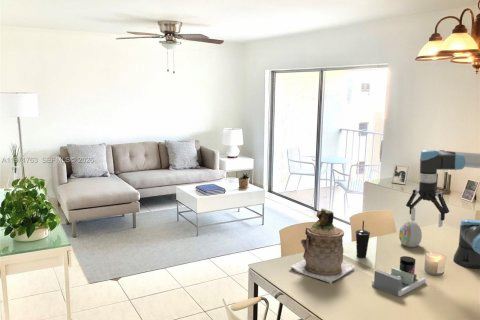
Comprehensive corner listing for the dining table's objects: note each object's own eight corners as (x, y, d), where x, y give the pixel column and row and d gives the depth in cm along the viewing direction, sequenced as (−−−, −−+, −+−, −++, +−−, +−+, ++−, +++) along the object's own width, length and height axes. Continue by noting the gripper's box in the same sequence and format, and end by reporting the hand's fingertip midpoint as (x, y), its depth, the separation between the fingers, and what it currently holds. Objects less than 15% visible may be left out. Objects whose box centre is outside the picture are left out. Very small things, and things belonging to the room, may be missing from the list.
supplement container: (401, 282, 190) (402, 261, 188) (396, 276, 197) (398, 255, 195) (416, 283, 189) (417, 262, 188) (411, 277, 196) (412, 256, 194)
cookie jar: (356, 269, 205) (360, 207, 201) (331, 285, 188) (334, 218, 183) (314, 256, 222) (316, 199, 217) (287, 270, 204) (289, 207, 199)
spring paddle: (392, 277, 195) (392, 267, 194) (412, 285, 187) (413, 274, 186) (386, 280, 192) (386, 270, 191) (406, 288, 184) (407, 277, 183)
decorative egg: (396, 240, 247) (398, 216, 245) (417, 241, 246) (419, 217, 244) (401, 248, 235) (403, 222, 233) (423, 249, 234) (425, 224, 232)
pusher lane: (397, 273, 201) (398, 258, 200) (425, 283, 191) (426, 268, 190) (371, 285, 188) (372, 270, 187) (400, 297, 177) (401, 280, 176)
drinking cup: (369, 259, 218) (371, 223, 215) (354, 258, 219) (356, 222, 216) (368, 254, 225) (370, 219, 222) (353, 253, 227) (355, 218, 224)
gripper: (399, 179, 207) (398, 220, 210) (451, 186, 188) (449, 230, 191) (407, 177, 211) (405, 217, 215) (458, 183, 193) (455, 227, 196)
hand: (426, 223), depth 203 cm, fingers open, 13 cm apart
